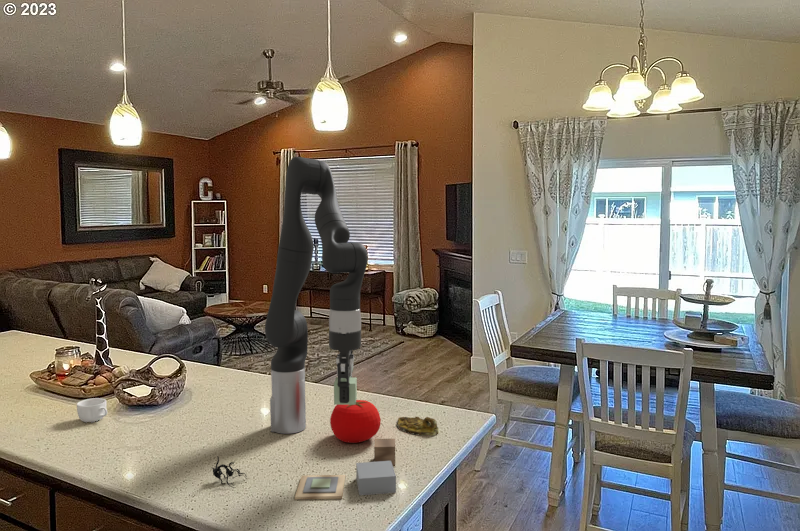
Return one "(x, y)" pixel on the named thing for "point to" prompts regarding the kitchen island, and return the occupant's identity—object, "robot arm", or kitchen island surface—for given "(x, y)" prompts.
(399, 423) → the stuffed eggplant half
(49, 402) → the kitchen island surface
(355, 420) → the tomato
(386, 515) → the kitchen island surface
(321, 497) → the tile
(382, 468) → the grey base block
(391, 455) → the walnut block
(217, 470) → the creature
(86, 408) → the teacup
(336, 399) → the sage block
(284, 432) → the robot arm
